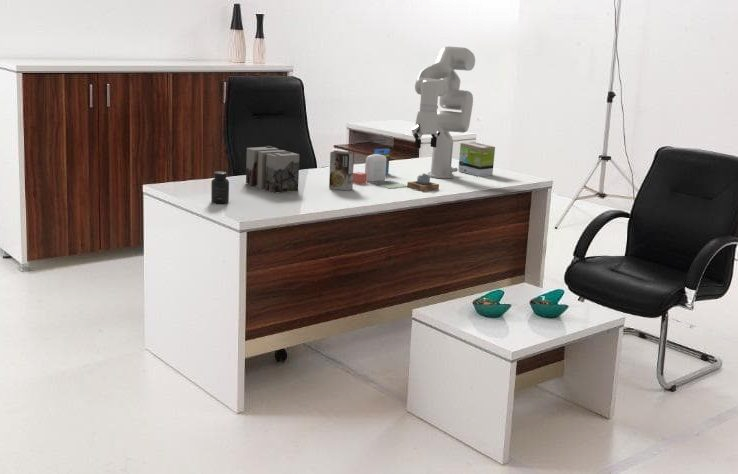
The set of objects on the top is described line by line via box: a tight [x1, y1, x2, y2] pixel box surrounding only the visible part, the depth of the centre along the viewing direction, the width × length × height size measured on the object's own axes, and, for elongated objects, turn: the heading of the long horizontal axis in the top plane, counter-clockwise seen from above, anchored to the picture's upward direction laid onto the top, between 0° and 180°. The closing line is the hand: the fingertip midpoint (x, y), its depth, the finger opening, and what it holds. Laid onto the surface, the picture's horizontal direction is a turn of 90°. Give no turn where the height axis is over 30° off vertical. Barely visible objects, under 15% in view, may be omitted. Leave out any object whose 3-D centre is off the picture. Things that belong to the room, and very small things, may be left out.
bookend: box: [245, 145, 300, 194], centre depth 389 cm, size 16×25×16 cm, turn 39°
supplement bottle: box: [210, 170, 230, 205], centre depth 354 cm, size 7×7×12 cm
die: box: [353, 171, 367, 185], centre depth 411 cm, size 4×4×5 cm
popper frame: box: [406, 180, 440, 192], centre depth 407 cm, size 10×10×2 cm
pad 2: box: [379, 182, 408, 190], centre depth 408 cm, size 12×6×1 cm, turn 129°
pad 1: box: [369, 179, 399, 187], centre depth 413 cm, size 12×6×1 cm, turn 129°
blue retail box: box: [373, 148, 391, 175], centre depth 436 cm, size 9×4×12 cm, turn 121°
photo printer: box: [364, 153, 387, 183], centre depth 417 cm, size 10×4×12 cm, turn 123°
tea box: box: [457, 141, 496, 178], centre depth 451 cm, size 15×10×15 cm, turn 41°
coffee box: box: [328, 150, 355, 192], centre depth 395 cm, size 9×6×16 cm
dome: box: [416, 173, 431, 185], centre depth 406 cm, size 6×6×5 cm
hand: (425, 147), depth 403 cm, fingers open, 9 cm apart
